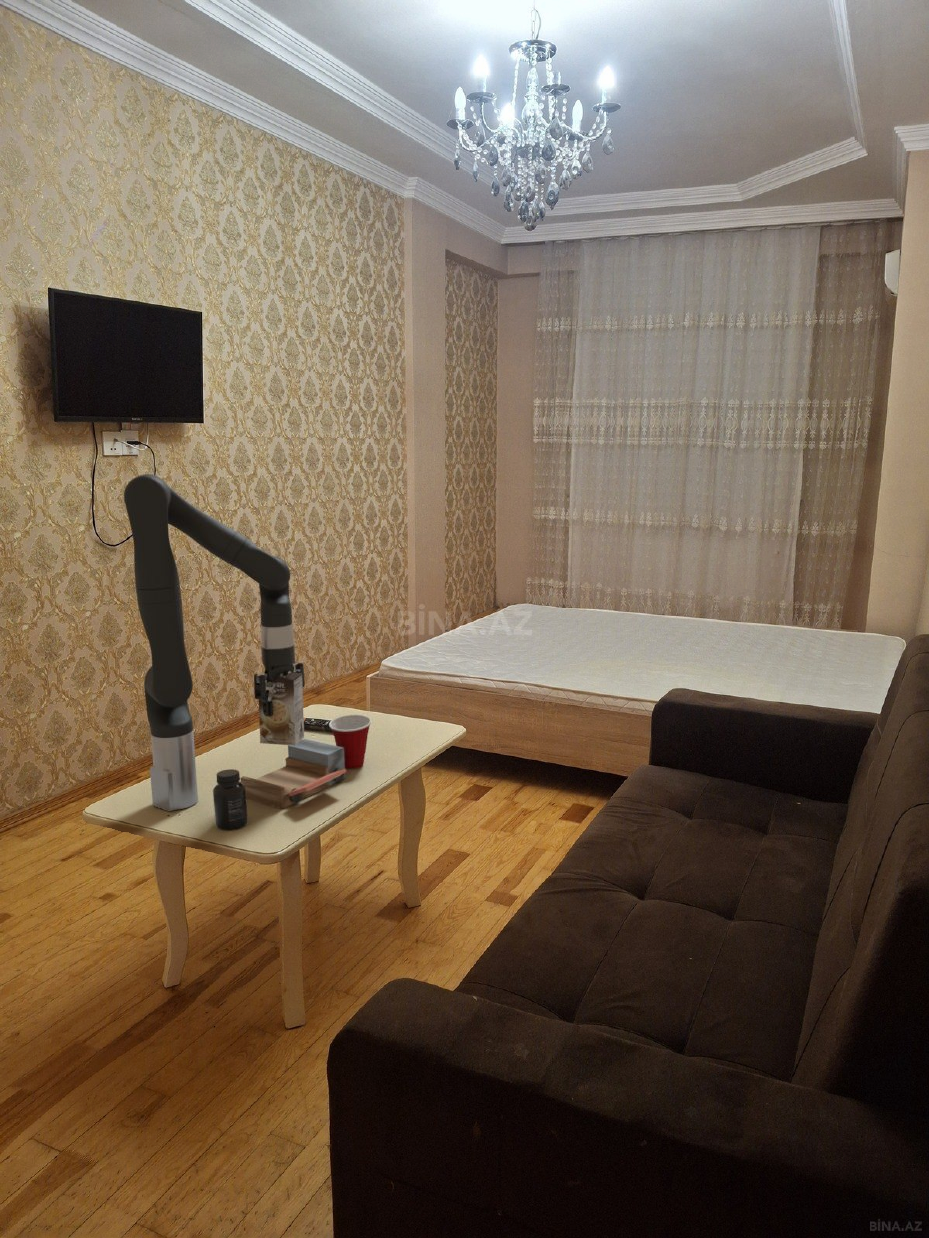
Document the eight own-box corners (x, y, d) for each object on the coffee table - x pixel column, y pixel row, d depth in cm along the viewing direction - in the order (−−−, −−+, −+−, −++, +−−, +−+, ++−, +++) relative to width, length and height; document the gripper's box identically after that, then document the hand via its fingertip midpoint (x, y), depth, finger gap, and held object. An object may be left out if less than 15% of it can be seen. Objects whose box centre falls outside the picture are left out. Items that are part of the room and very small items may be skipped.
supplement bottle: (250, 817, 199) (247, 766, 197) (244, 831, 192) (240, 778, 190) (219, 818, 199) (216, 767, 197) (212, 831, 192) (208, 779, 190)
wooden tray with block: (285, 809, 203) (283, 776, 202) (241, 797, 211) (239, 765, 209) (348, 779, 221) (347, 748, 220) (305, 768, 229) (304, 738, 227)
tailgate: (289, 797, 203) (307, 791, 200) (288, 792, 203) (305, 787, 200) (329, 778, 215) (346, 772, 211) (328, 774, 215) (345, 768, 211)
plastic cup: (322, 768, 229) (320, 723, 226) (347, 755, 238) (345, 712, 236) (356, 775, 224) (355, 729, 221) (381, 762, 233) (379, 717, 231)
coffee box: (258, 744, 209) (255, 677, 206) (269, 735, 215) (265, 670, 212) (296, 746, 207) (293, 679, 204) (305, 737, 214) (302, 672, 210)
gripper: (287, 636, 215) (290, 701, 218) (243, 647, 203) (247, 716, 206) (311, 639, 211) (314, 706, 214) (267, 651, 199) (271, 722, 202)
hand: (281, 711), depth 210 cm, fingers closed on coffee box, 8 cm apart
